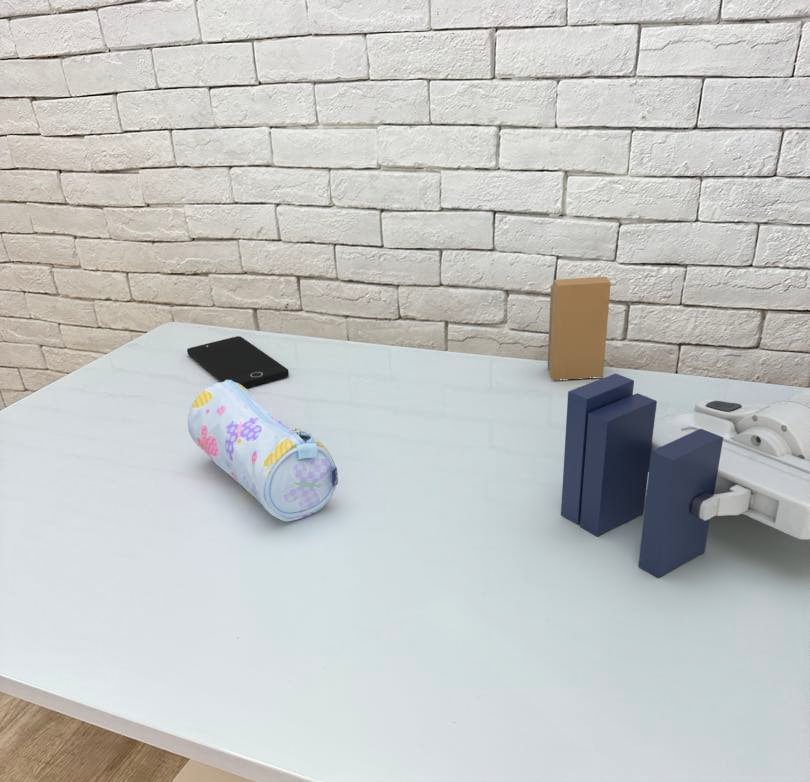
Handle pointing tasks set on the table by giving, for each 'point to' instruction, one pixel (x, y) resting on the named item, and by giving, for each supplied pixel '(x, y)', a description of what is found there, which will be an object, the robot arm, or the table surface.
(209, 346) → the cell phone
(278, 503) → the pencil case
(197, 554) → the table surface
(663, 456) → the navy book
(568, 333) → the tan rectangular block
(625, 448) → the navy books
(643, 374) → the table surface
